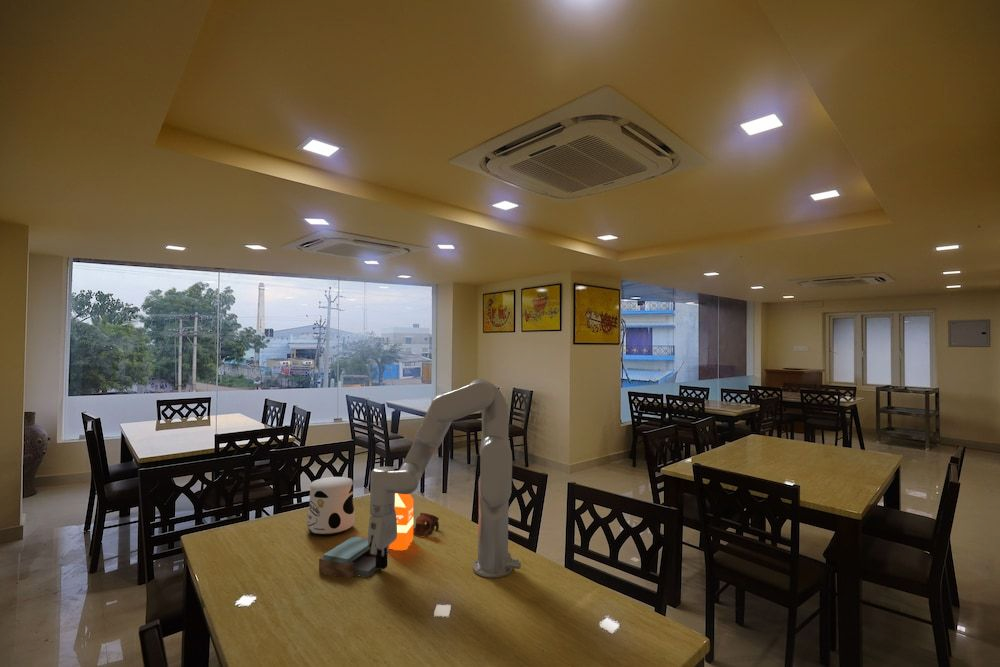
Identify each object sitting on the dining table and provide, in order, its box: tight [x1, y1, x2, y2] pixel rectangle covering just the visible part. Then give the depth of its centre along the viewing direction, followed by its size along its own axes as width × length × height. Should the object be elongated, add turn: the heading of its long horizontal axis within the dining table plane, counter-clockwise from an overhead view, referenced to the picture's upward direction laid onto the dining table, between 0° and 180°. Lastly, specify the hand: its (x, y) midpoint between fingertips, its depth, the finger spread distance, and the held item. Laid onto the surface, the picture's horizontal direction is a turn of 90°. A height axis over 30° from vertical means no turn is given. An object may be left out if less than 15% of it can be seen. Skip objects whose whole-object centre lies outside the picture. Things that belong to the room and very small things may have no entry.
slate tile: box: [352, 555, 379, 578], centre depth 150 cm, size 14×9×2 cm, turn 73°
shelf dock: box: [318, 536, 376, 580], centre depth 151 cm, size 12×15×6 cm
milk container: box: [306, 476, 356, 536], centre depth 180 cm, size 17×17×18 cm
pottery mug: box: [413, 512, 440, 537], centre depth 178 cm, size 12×10×8 cm
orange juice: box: [389, 493, 415, 551], centre depth 167 cm, size 8×9×20 cm
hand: (381, 567), depth 148 cm, fingers closed
